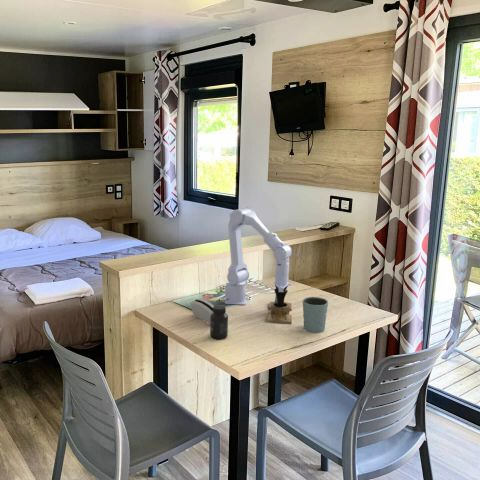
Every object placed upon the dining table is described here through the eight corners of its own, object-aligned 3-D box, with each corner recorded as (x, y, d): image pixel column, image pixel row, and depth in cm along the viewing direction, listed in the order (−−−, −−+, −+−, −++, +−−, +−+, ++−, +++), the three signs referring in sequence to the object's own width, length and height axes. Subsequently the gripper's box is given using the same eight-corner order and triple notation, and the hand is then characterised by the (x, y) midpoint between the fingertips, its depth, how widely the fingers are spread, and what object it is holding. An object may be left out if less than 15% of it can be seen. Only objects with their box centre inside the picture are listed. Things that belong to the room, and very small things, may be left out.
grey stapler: (226, 324, 201) (219, 304, 197) (217, 330, 199) (210, 310, 195) (202, 312, 214) (196, 293, 210) (194, 318, 212) (187, 298, 207)
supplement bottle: (207, 334, 191) (207, 305, 188) (222, 331, 194) (223, 303, 191) (214, 341, 185) (215, 311, 182) (230, 338, 188) (231, 308, 186)
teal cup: (331, 331, 198) (333, 303, 195) (310, 335, 193) (312, 306, 190) (316, 322, 206) (318, 295, 204) (296, 326, 202) (297, 298, 199)
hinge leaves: (267, 322, 205) (267, 313, 204) (269, 303, 227) (270, 295, 226) (291, 323, 204) (291, 314, 203) (291, 305, 226) (291, 296, 225)
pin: (272, 308, 213) (274, 291, 211) (272, 304, 218) (275, 287, 216) (284, 309, 212) (286, 292, 211) (284, 305, 217) (286, 289, 216)
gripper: (291, 278, 204) (289, 309, 207) (291, 268, 218) (289, 297, 221) (274, 277, 205) (272, 307, 208) (275, 267, 219) (274, 296, 222)
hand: (280, 302), depth 215 cm, fingers closed on pin, 5 cm apart
